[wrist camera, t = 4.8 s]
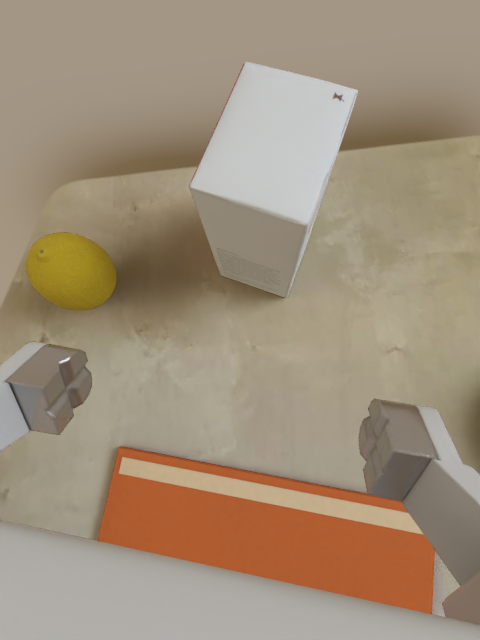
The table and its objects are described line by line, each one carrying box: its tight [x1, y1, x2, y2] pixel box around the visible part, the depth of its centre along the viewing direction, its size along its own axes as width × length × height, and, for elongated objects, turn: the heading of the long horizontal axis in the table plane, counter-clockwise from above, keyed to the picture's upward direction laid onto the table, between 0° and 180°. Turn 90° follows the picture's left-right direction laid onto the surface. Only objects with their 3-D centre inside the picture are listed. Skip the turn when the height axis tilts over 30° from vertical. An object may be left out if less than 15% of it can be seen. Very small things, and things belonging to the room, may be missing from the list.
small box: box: [189, 62, 358, 298], centre depth 22 cm, size 8×6×13 cm
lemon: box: [26, 232, 117, 310], centre depth 25 cm, size 6×6×8 cm
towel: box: [98, 447, 435, 614], centre depth 23 cm, size 24×16×1 cm, turn 80°
